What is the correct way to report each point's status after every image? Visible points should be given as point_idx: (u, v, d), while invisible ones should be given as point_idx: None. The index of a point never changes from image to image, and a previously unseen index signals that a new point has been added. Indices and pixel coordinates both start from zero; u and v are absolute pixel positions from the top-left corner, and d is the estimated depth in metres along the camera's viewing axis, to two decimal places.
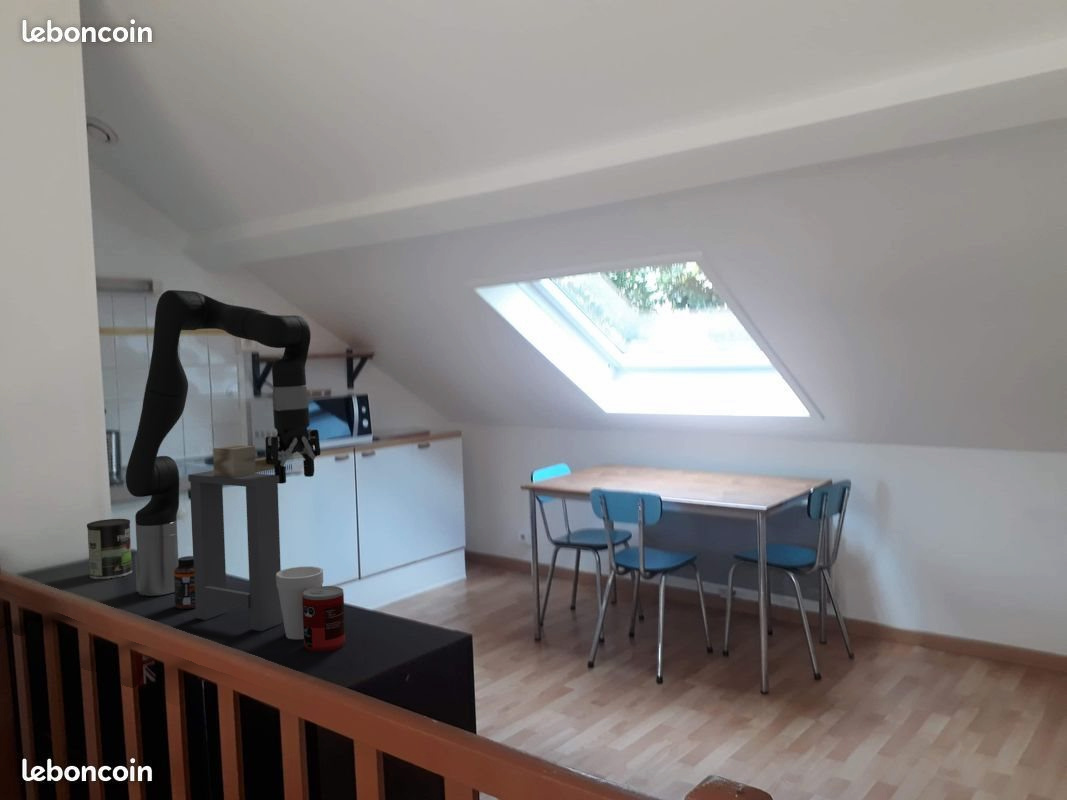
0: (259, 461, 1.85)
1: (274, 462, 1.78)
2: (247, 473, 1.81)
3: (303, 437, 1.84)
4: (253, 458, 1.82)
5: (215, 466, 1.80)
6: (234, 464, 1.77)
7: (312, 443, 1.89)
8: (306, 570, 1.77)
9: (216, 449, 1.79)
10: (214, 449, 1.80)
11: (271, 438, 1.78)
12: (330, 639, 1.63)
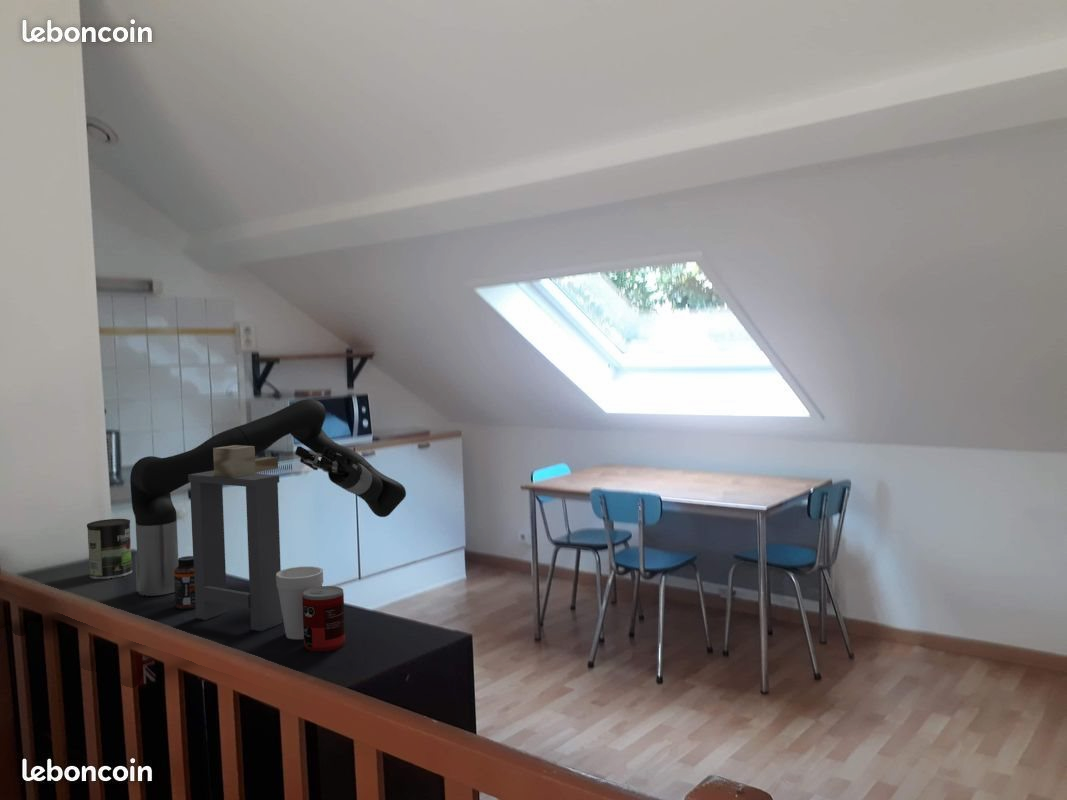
0: (259, 461, 1.85)
1: (343, 464, 2.02)
2: (247, 473, 1.81)
3: (327, 472, 2.09)
4: (253, 458, 1.82)
5: (215, 466, 1.80)
6: (234, 464, 1.77)
7: None
8: (306, 570, 1.77)
9: (216, 449, 1.79)
10: (214, 449, 1.80)
11: (356, 469, 2.06)
12: (330, 639, 1.63)
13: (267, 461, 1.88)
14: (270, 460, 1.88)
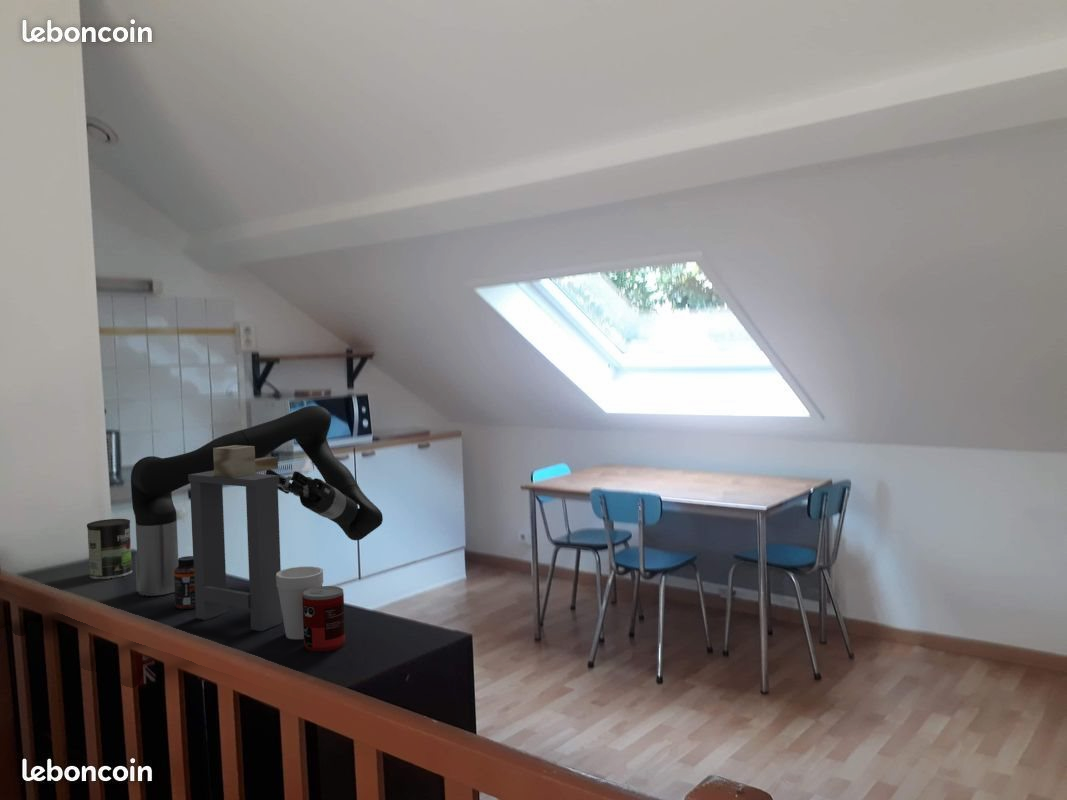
0: (259, 461, 1.85)
1: (314, 488, 1.93)
2: (247, 473, 1.81)
3: (299, 496, 2.00)
4: (253, 458, 1.82)
5: (215, 466, 1.80)
6: (234, 464, 1.77)
7: (282, 485, 2.01)
8: (306, 570, 1.77)
9: (216, 449, 1.79)
10: (214, 449, 1.80)
11: (328, 494, 1.98)
12: (330, 639, 1.63)
13: (267, 461, 1.88)
14: (270, 460, 1.88)
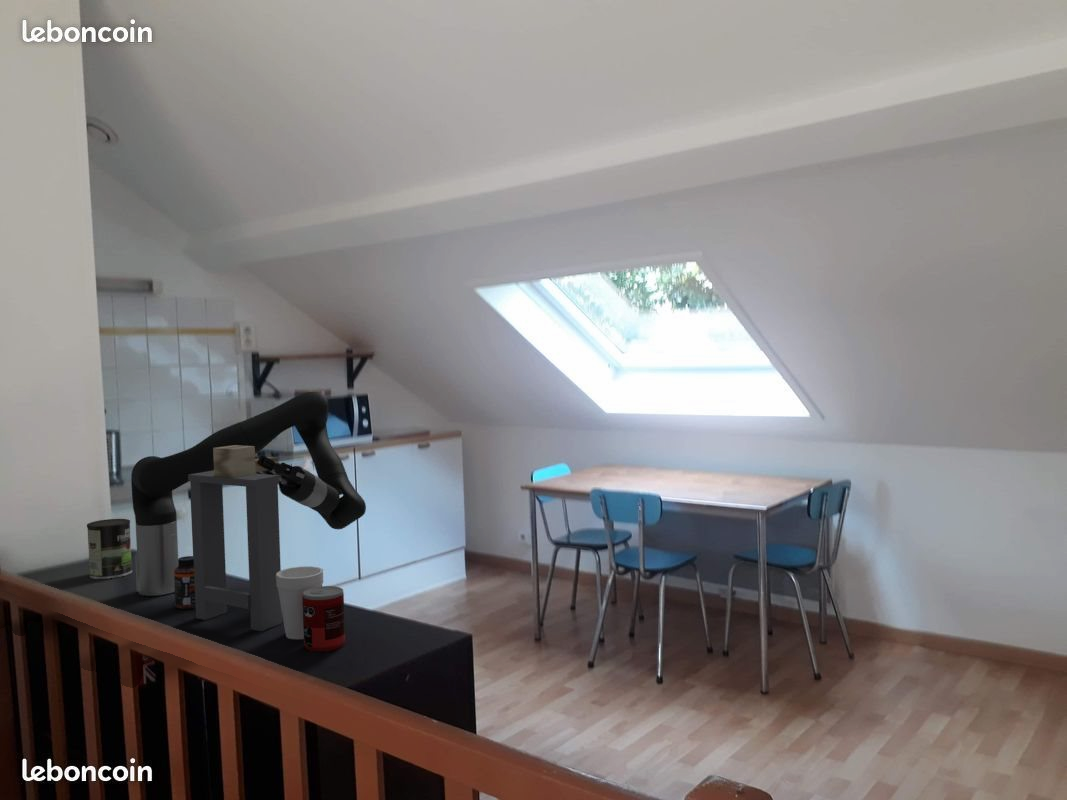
0: None
1: (281, 473, 1.87)
2: (247, 473, 1.81)
3: None
4: (253, 458, 1.82)
5: (215, 466, 1.80)
6: (234, 464, 1.77)
7: None
8: (306, 570, 1.77)
9: (216, 449, 1.79)
10: (214, 449, 1.80)
11: (302, 478, 1.90)
12: (330, 639, 1.63)
13: None
14: None
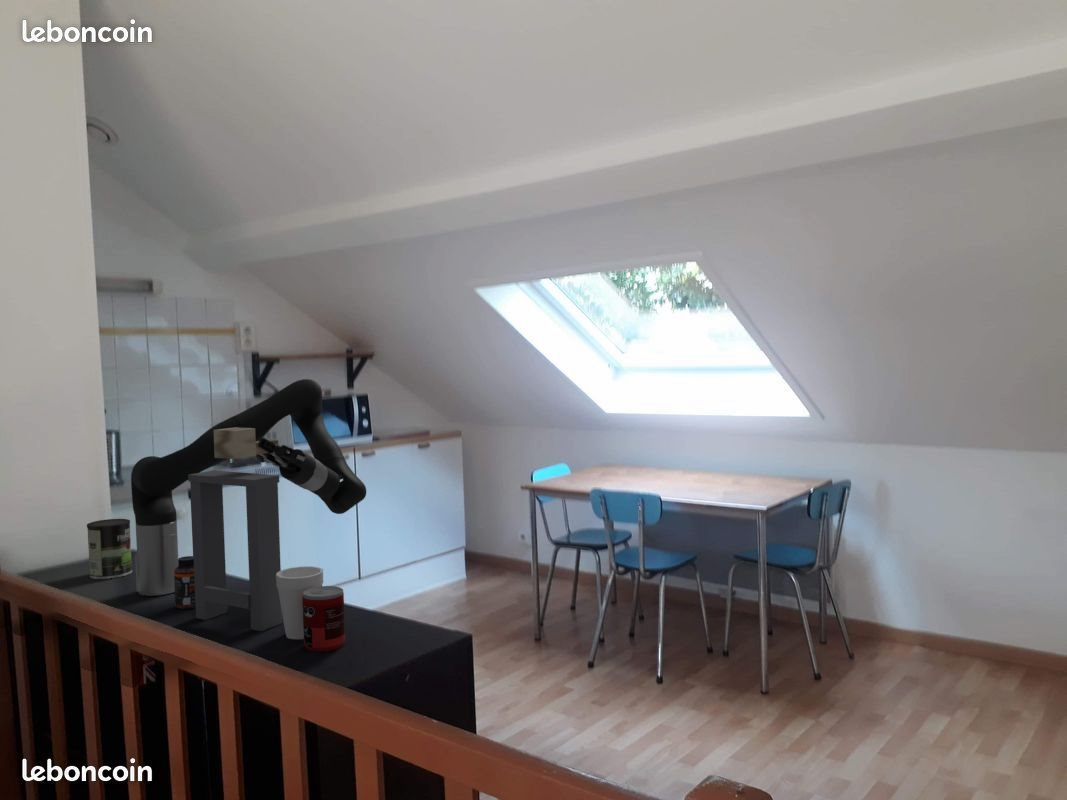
0: None
1: (282, 455, 1.87)
2: (247, 455, 1.81)
3: (277, 466, 1.94)
4: (253, 440, 1.82)
5: (215, 448, 1.80)
6: (234, 446, 1.77)
7: None
8: (306, 570, 1.77)
9: (216, 431, 1.79)
10: (214, 431, 1.80)
11: (302, 461, 1.90)
12: (330, 639, 1.63)
13: None
14: None
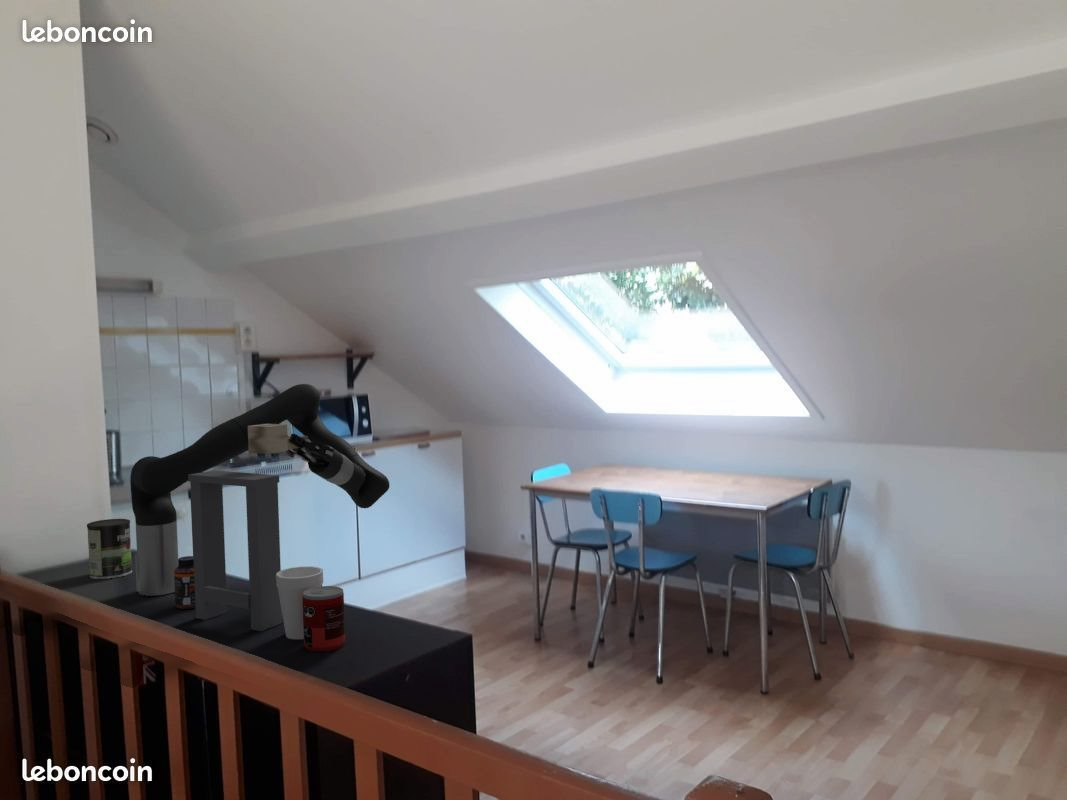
0: None
1: (312, 450, 1.96)
2: (280, 450, 1.89)
3: (306, 461, 2.02)
4: (285, 436, 1.90)
5: (249, 443, 1.88)
6: (268, 441, 1.86)
7: None
8: (306, 570, 1.77)
9: (251, 427, 1.88)
10: (249, 427, 1.88)
11: (331, 456, 1.98)
12: (330, 639, 1.63)
13: None
14: None
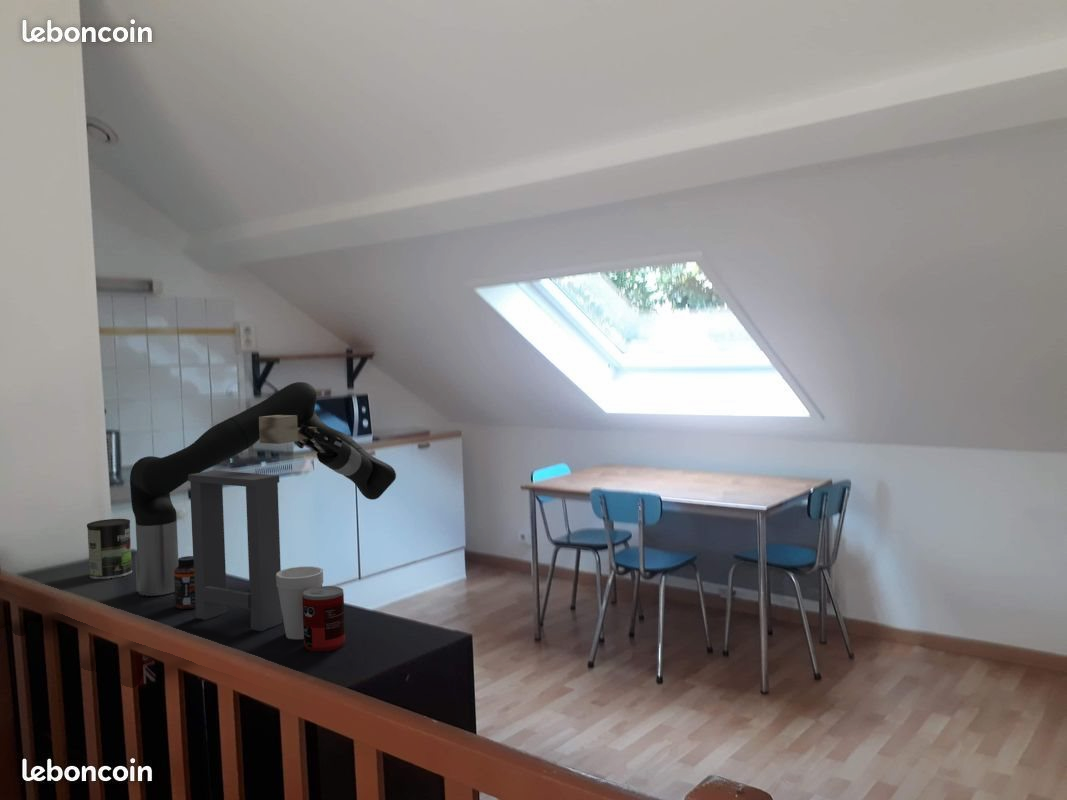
0: None
1: (321, 441, 2.00)
2: (290, 440, 1.93)
3: (315, 452, 2.06)
4: (296, 426, 1.94)
5: (261, 434, 1.92)
6: (279, 432, 1.90)
7: None
8: (306, 570, 1.77)
9: (262, 418, 1.92)
10: (260, 418, 1.92)
11: (340, 446, 2.02)
12: (330, 639, 1.63)
13: None
14: None
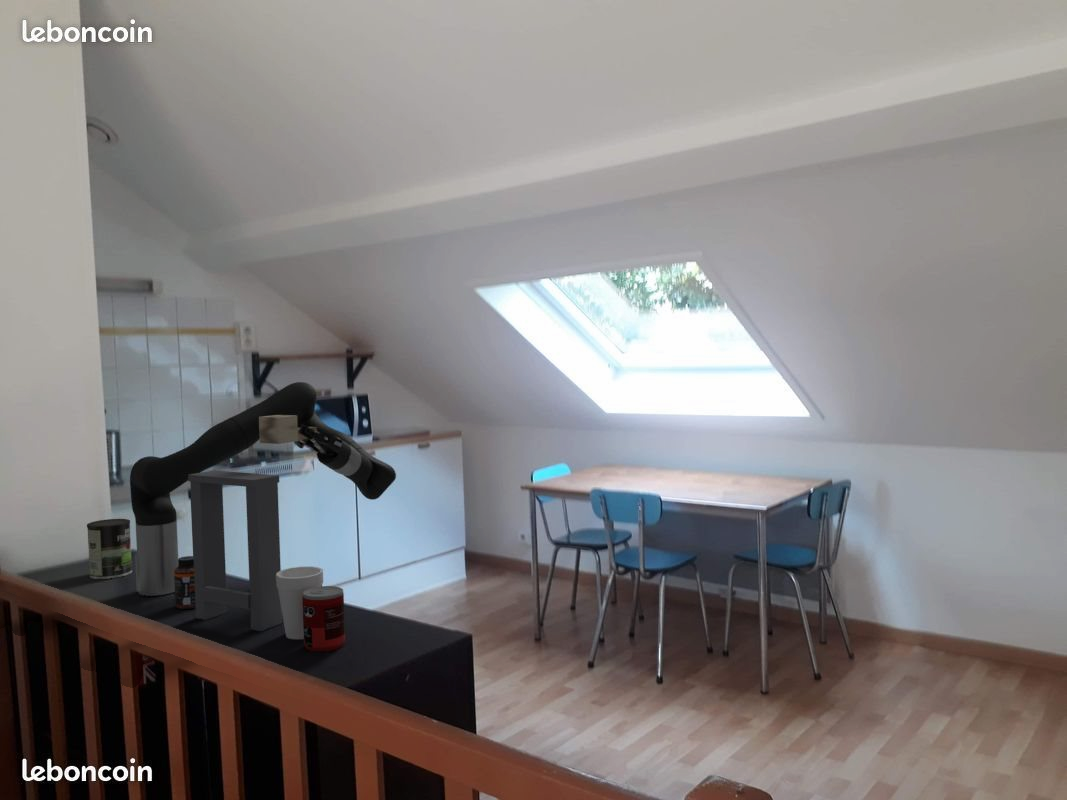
0: None
1: (321, 441, 2.00)
2: (290, 440, 1.93)
3: (315, 452, 2.06)
4: (296, 426, 1.94)
5: (261, 434, 1.92)
6: (279, 432, 1.90)
7: None
8: (306, 570, 1.77)
9: (262, 418, 1.92)
10: (260, 418, 1.92)
11: (340, 446, 2.02)
12: (330, 639, 1.63)
13: None
14: None
